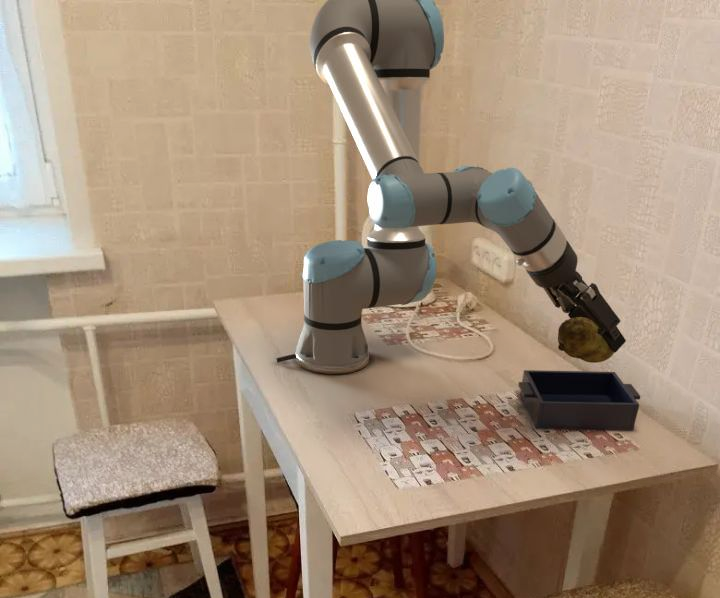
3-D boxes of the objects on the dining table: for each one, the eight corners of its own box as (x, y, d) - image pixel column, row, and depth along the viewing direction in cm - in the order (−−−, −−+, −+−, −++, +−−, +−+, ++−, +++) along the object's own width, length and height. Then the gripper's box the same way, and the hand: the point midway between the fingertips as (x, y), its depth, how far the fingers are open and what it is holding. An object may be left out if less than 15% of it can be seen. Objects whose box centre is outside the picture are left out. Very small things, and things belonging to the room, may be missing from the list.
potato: (630, 366, 128) (641, 322, 124) (564, 372, 126) (572, 327, 121) (605, 349, 135) (615, 306, 131) (542, 354, 132) (549, 310, 128)
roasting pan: (535, 428, 130) (540, 403, 127) (519, 394, 142) (523, 370, 139) (633, 430, 131) (639, 404, 128) (609, 396, 142) (614, 371, 140)
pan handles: (523, 397, 132) (524, 394, 131) (518, 385, 136) (518, 381, 136) (639, 399, 132) (640, 396, 132) (630, 387, 137) (631, 383, 136)
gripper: (493, 256, 123) (554, 335, 138) (570, 291, 108) (629, 376, 123) (523, 221, 122) (581, 304, 137) (605, 252, 107) (660, 341, 122)
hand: (604, 338), depth 130 cm, fingers closed on potato, 7 cm apart
